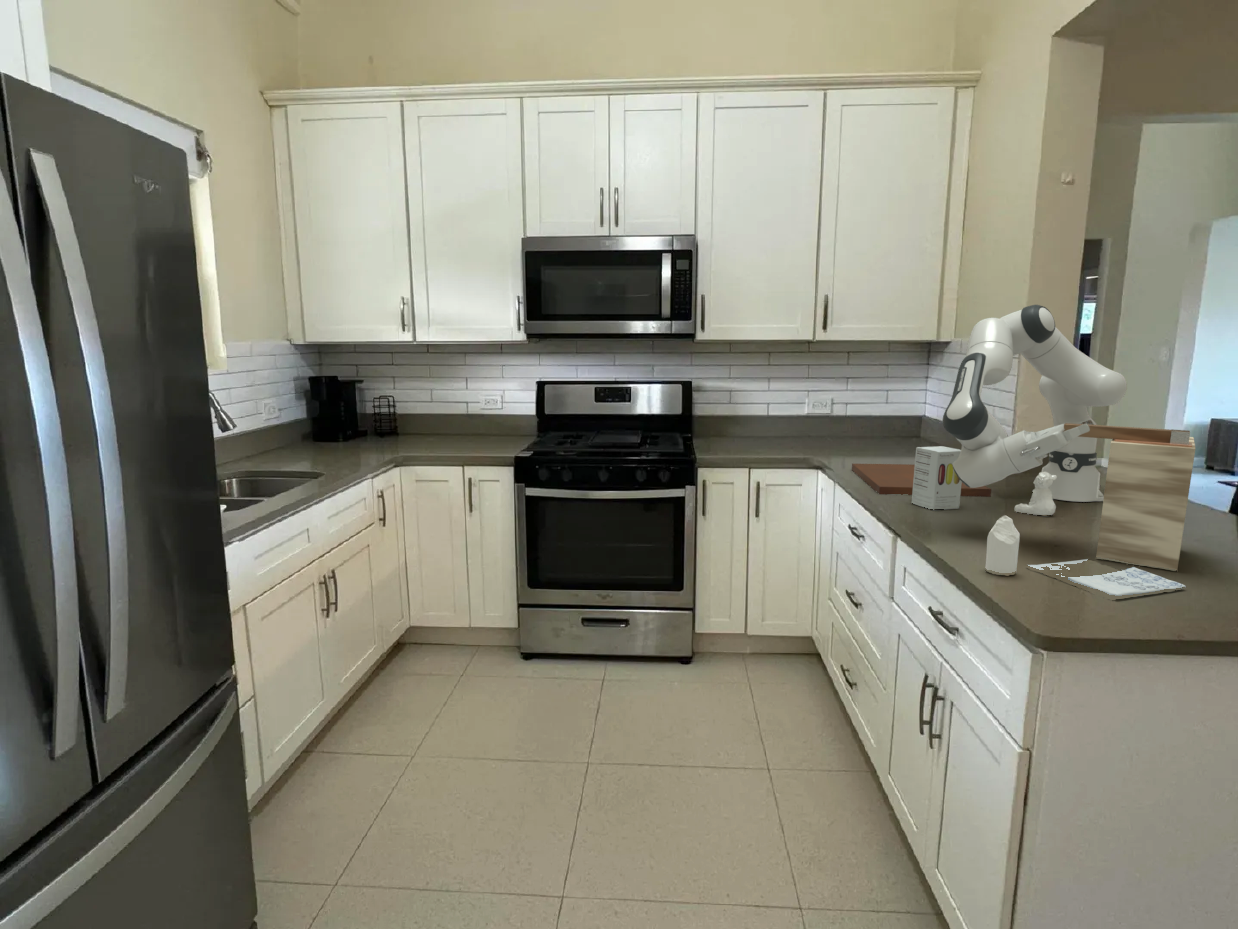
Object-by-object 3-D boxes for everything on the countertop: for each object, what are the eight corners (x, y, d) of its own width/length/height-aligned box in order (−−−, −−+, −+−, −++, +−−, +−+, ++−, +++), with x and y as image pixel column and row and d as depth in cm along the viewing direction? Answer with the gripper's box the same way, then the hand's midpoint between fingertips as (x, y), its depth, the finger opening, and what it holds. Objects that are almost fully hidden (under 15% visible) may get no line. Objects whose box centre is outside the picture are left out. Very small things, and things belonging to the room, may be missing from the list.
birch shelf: (1103, 538, 169) (1117, 430, 164) (1176, 549, 160) (1193, 435, 156) (1095, 559, 153) (1110, 440, 149) (1176, 572, 145) (1195, 447, 140)
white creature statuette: (1036, 508, 198) (1041, 467, 196) (1065, 515, 190) (1070, 472, 188) (1012, 511, 195) (1016, 469, 193) (1040, 519, 187) (1045, 475, 185)
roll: (998, 520, 140) (983, 513, 146) (993, 576, 143) (978, 567, 148) (1028, 519, 141) (1011, 512, 146) (1022, 576, 143) (1006, 567, 148)
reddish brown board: (945, 473, 252) (851, 471, 256) (946, 465, 251) (852, 463, 255) (990, 498, 213) (879, 496, 217) (991, 489, 212) (879, 486, 216)
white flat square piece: (1112, 604, 129) (1113, 593, 129) (1022, 570, 148) (1023, 560, 148) (1187, 593, 135) (1189, 583, 134) (1091, 561, 154) (1092, 552, 153)
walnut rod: (1064, 433, 160) (1065, 422, 159) (1187, 442, 146) (1189, 430, 146) (1062, 435, 156) (1063, 424, 156) (1188, 444, 143) (1190, 432, 143)
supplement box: (932, 511, 196) (937, 451, 193) (910, 503, 204) (914, 446, 201) (960, 508, 199) (965, 450, 195) (937, 501, 207) (941, 445, 204)
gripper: (1011, 443, 156) (1078, 416, 147) (1026, 433, 171) (1088, 407, 163) (1024, 469, 155) (1093, 443, 146) (1039, 456, 170) (1101, 432, 162)
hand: (1090, 424), depth 155 cm, fingers open, 8 cm apart
